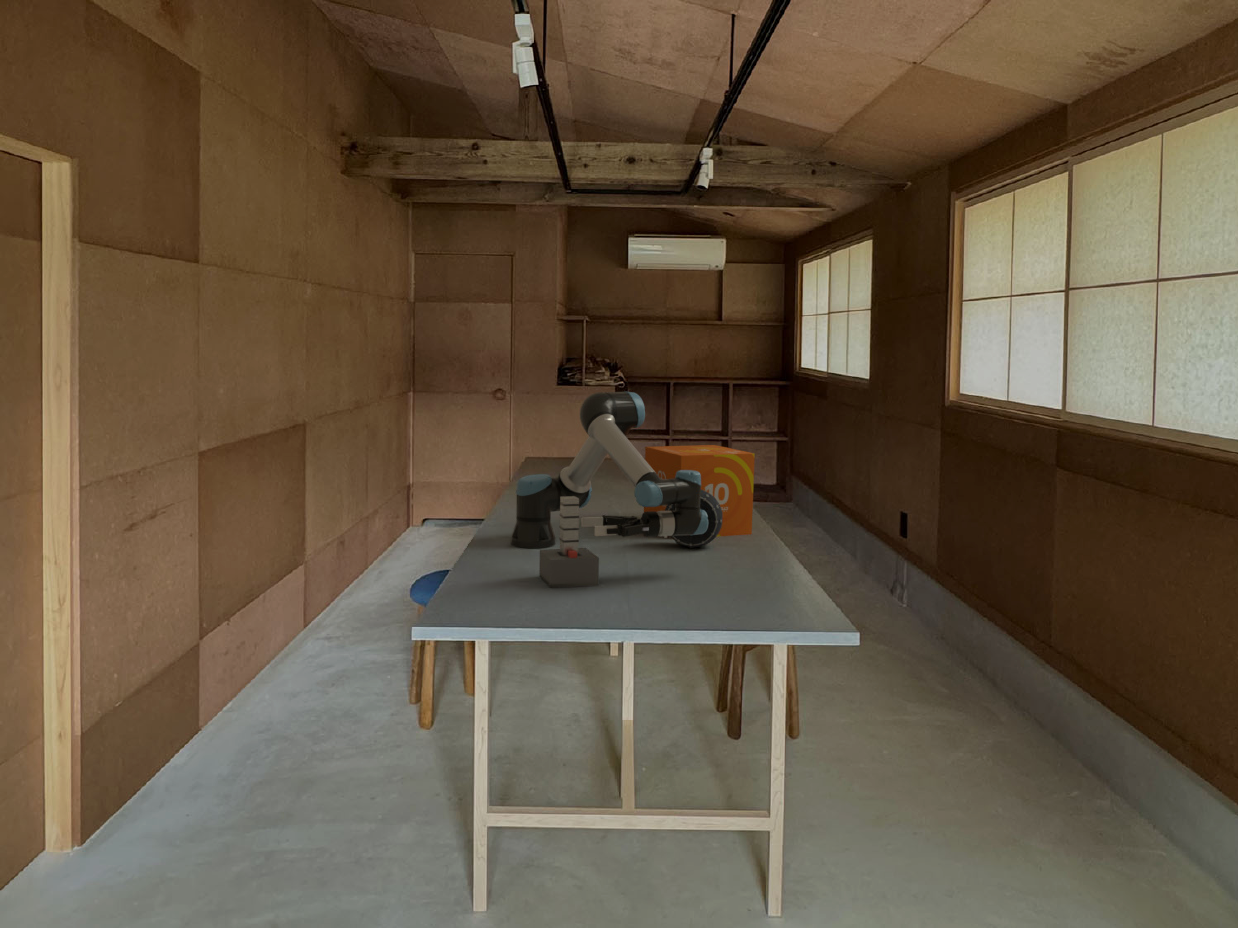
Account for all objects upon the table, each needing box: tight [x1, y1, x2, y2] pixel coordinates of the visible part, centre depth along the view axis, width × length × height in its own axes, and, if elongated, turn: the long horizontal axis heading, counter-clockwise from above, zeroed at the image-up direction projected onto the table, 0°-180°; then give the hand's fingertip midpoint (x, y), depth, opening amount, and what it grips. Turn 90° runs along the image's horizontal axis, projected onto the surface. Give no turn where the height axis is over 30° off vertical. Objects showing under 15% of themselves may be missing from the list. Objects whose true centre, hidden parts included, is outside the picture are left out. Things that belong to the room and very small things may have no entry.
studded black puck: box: [665, 490, 723, 549], centre depth 332 cm, size 11×20×20 cm, turn 78°
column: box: [558, 496, 580, 556], centre depth 280 cm, size 5×5×23 cm
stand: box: [538, 547, 600, 589], centre depth 281 cm, size 14×14×10 cm
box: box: [643, 444, 756, 538], centre depth 363 cm, size 30×30×30 cm
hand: (587, 526), depth 281 cm, fingers open, 13 cm apart
